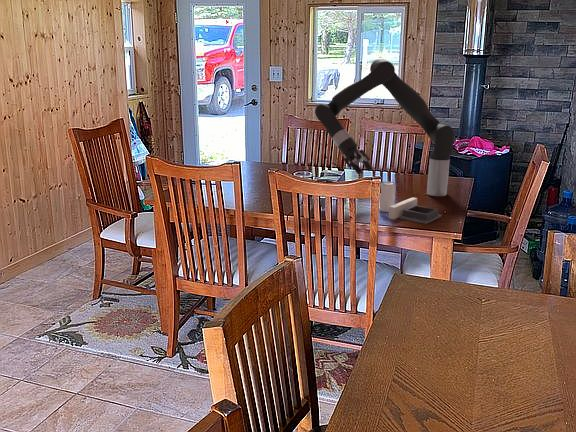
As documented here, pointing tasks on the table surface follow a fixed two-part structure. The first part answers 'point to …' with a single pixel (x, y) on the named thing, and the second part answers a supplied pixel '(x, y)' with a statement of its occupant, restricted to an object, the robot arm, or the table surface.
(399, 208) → the door edge
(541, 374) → the table surface
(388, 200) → the can
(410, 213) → the keeper
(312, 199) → the drinking glass
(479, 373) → the table surface
